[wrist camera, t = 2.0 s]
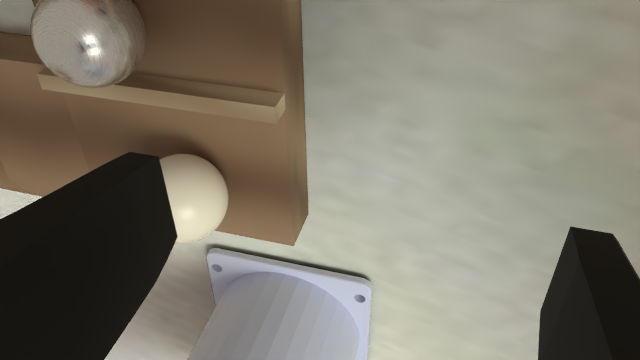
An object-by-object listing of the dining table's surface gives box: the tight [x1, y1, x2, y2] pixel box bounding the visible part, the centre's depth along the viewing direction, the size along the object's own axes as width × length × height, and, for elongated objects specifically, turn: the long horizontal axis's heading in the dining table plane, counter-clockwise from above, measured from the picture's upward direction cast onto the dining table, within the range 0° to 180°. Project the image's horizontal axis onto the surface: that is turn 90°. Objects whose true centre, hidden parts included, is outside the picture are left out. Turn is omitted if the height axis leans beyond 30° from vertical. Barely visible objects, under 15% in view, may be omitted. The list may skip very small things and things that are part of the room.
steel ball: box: [31, 0, 146, 88], centre depth 17 cm, size 3×3×3 cm
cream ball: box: [160, 154, 228, 243], centre depth 20 cm, size 3×3×3 cm
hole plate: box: [0, 0, 308, 246], centre depth 19 cm, size 18×16×3 cm
